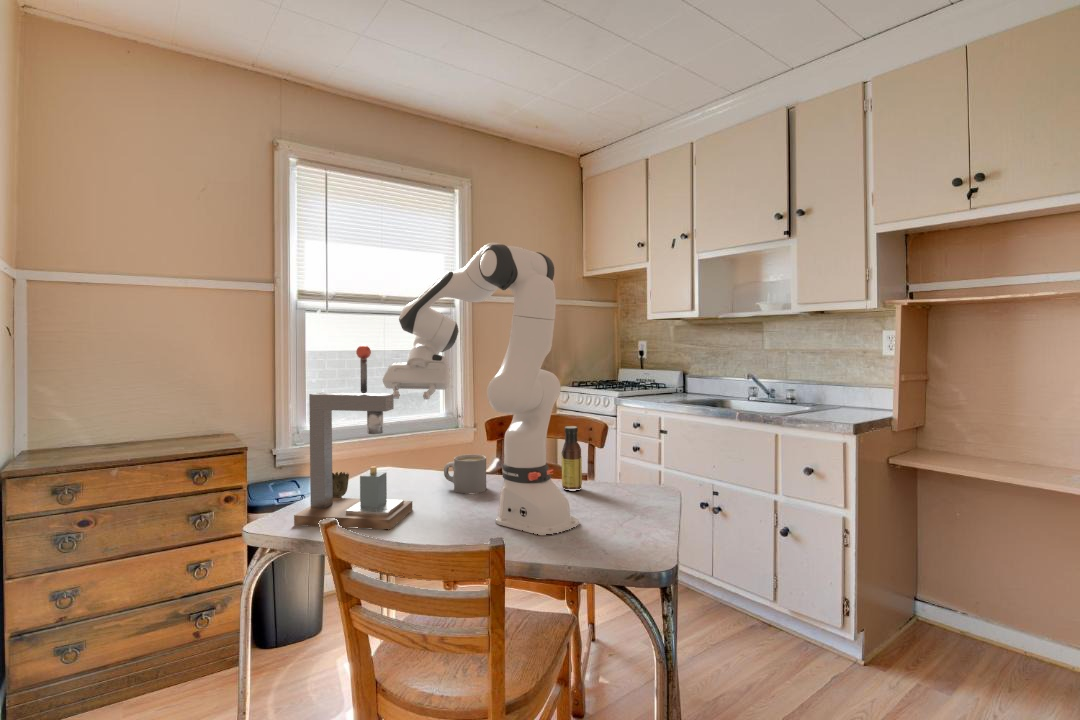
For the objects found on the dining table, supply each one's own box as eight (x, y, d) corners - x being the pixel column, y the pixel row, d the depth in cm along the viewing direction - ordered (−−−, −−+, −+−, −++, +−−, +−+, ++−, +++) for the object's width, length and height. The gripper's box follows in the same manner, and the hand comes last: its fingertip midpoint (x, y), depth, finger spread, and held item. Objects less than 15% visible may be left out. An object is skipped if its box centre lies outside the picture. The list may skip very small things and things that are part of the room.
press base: (412, 510, 153) (412, 501, 153) (389, 530, 137) (389, 520, 137) (326, 506, 156) (326, 497, 156) (294, 525, 140) (294, 515, 140)
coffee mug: (491, 487, 177) (491, 455, 176) (476, 495, 167) (476, 462, 167) (455, 482, 182) (455, 452, 181) (438, 490, 172) (438, 458, 172)
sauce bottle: (571, 486, 178) (571, 424, 178) (585, 489, 174) (586, 426, 173) (557, 489, 174) (557, 426, 173) (571, 493, 169) (572, 429, 169)
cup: (340, 506, 155) (339, 478, 155) (316, 505, 157) (316, 477, 157) (354, 499, 163) (354, 472, 162) (331, 497, 164) (331, 470, 164)
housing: (386, 501, 148) (386, 465, 148) (378, 507, 143) (378, 469, 143) (369, 500, 149) (368, 464, 149) (360, 506, 144) (359, 469, 144)
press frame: (403, 503, 150) (402, 345, 149) (387, 516, 139) (386, 345, 138) (325, 500, 153) (323, 344, 152) (303, 512, 142) (301, 345, 141)
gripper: (387, 356, 174) (374, 390, 165) (450, 357, 171) (441, 391, 162) (392, 369, 179) (380, 403, 169) (454, 370, 176) (445, 405, 167)
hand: (410, 397), depth 166 cm, fingers open, 8 cm apart
